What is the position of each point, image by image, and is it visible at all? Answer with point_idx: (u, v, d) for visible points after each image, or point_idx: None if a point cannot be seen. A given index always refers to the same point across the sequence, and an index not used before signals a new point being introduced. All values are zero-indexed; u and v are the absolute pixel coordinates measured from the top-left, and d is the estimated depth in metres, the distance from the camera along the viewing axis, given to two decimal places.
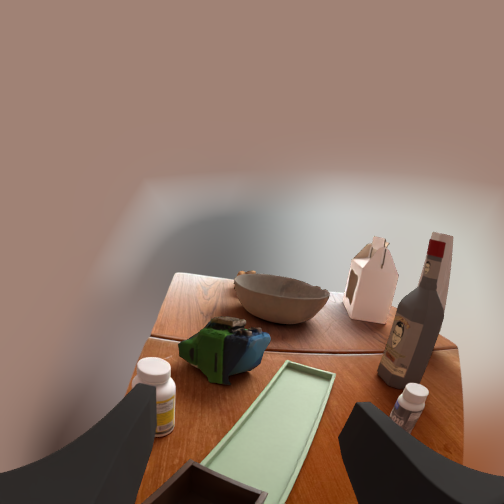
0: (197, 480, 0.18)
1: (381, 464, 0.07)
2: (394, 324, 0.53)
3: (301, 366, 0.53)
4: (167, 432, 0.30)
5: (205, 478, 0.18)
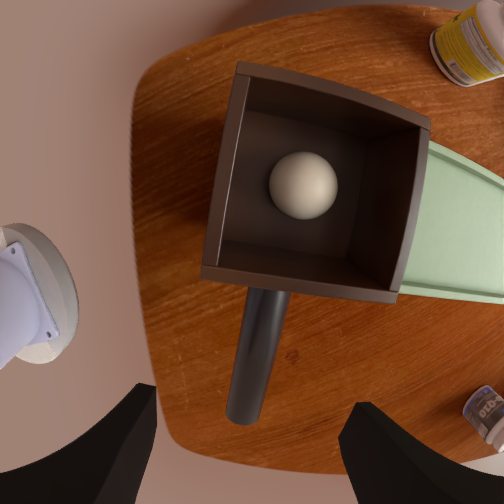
0: (392, 147, 0.10)
1: (381, 464, 0.07)
2: None
3: None
4: (453, 78, 0.15)
5: (401, 163, 0.10)
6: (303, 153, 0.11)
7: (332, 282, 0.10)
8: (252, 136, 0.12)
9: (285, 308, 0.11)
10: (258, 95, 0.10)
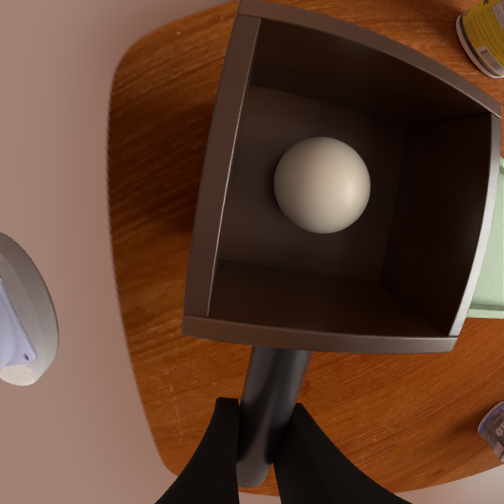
0: (447, 139, 0.07)
1: (298, 474, 0.06)
2: None
3: None
4: (483, 68, 0.11)
5: (464, 160, 0.06)
6: (319, 138, 0.07)
7: (379, 332, 0.06)
8: (259, 119, 0.09)
9: (307, 363, 0.07)
10: (270, 57, 0.06)
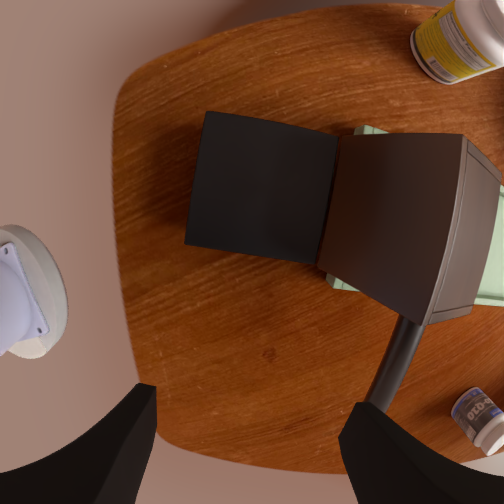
0: None
1: (381, 464, 0.07)
2: None
3: None
4: (434, 76, 0.15)
5: None
6: None
7: None
8: None
9: None
10: None
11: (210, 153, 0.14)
